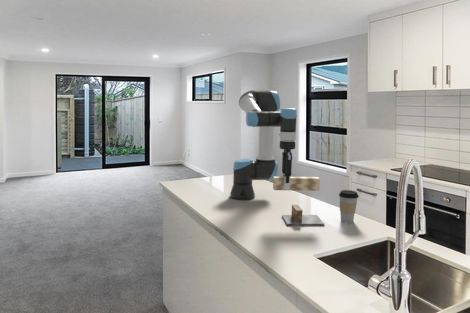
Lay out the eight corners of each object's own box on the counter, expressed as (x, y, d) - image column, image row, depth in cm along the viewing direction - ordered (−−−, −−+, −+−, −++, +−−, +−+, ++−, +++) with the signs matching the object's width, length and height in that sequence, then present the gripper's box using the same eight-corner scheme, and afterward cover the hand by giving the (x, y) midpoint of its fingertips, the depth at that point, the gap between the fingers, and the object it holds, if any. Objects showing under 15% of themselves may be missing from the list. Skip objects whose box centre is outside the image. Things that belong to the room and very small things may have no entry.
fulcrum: (287, 225, 180) (287, 211, 179) (281, 216, 194) (282, 203, 193) (324, 225, 181) (325, 211, 180) (316, 216, 195) (317, 203, 194)
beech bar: (274, 190, 182) (274, 178, 181) (273, 188, 186) (273, 176, 185) (319, 190, 183) (319, 178, 182) (317, 188, 187) (317, 176, 186)
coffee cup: (341, 217, 195) (342, 188, 193) (359, 220, 190) (361, 191, 188) (334, 221, 187) (336, 192, 185) (353, 225, 182) (355, 195, 180)
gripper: (277, 138, 189) (275, 184, 193) (282, 142, 172) (281, 192, 176) (291, 138, 190) (290, 184, 193) (299, 142, 173) (297, 192, 176)
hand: (285, 188), depth 184 cm, fingers closed on beech bar, 4 cm apart
